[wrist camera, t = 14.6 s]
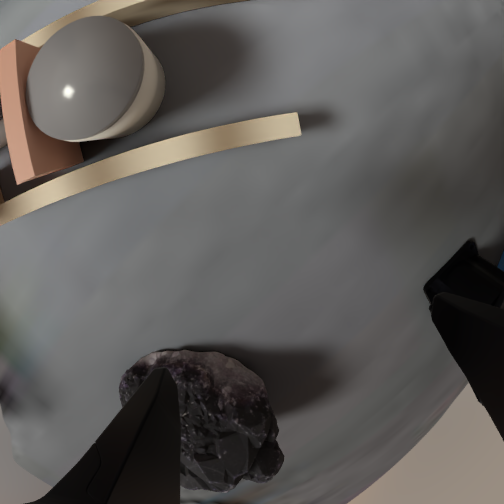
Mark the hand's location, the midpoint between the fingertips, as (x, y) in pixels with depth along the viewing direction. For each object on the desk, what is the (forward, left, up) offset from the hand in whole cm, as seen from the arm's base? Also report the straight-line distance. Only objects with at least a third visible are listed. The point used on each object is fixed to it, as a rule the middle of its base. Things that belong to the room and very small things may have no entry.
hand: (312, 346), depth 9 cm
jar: (0, -13, -11) cm, 17 cm away
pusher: (+8, -17, -11) cm, 21 cm away
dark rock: (+14, +8, -11) cm, 20 cm away
